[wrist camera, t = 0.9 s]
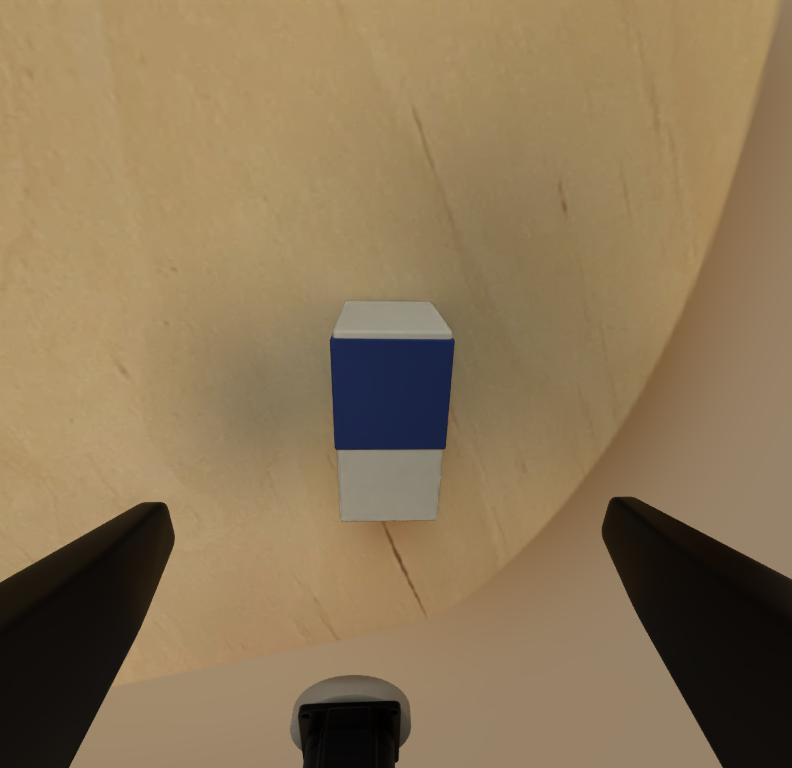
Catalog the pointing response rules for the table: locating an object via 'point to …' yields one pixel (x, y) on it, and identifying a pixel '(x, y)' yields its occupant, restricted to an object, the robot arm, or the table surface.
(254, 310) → the table surface
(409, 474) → the eraser
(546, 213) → the table surface
